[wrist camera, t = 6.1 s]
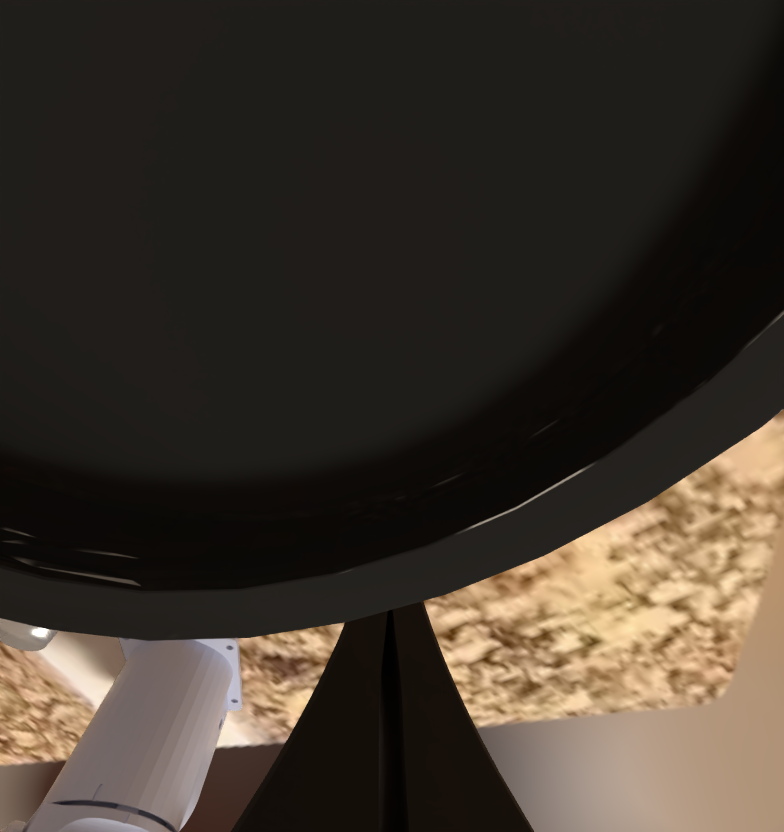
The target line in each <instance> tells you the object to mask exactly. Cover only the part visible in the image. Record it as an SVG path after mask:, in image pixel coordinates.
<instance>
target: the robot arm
mask: <svg viewBox="0 0 784 832" xmlns="http://www.w3.org/2000/svg"><path fill="white" fill-rule="evenodd" d="M118 638H119V637H118ZM119 641H120V644H121V647H122V650H123V653H124V657H125V660H126V663H125V665H124V666H123V668H122V670H121V671H120V673H119V675H118V676H117V678H116V680H115V681H114V683H113V685H112V686H111V688H110V690H109V692H108V693H107V695H106V697H105V698H104V700H103V702H102V703H101V705H100V707H99V708H98V710H97V712H96V713H95V715H94V717H93V718H92V720H91V722H90V723H89V725H88V727H87V728H86V730H85V732H84V734H83V735H82V737H81V739H80V740H79V742H78V744H77V745H76V747H75V749H74V750H73V752H72V754H71V755H70V757H69V759H68V760H67V762H66V764H65V766H64V767H63V769H62V771H61V772H60V774H59V776H58V777H57V779H56V781H55V783H54V784H53V786H52V787H51V789H50V791H49V792H48V794H47V796H46V798H45V799H44V801H43V802H42V804H41V806H40V807H39V809H38V810H37V811H36V812H35V814H34V815H33V816H32V817H31V819H30V820H29V821H28V822H27V824H26V825H25V822H22V821H18V820H15V821H12V822H11V823H10V824H9V825H8V827H7V828H3V829H1V830H0V832H179V831H180V830H181V829H182V827H183V826H184V825H185V823H186V821H187V820H188V818H189V817H190V815H191V814H192V812H193V810H194V808H195V806H196V803H197V801H198V798H199V795H200V792H201V789H202V786H203V783H204V780H205V777H206V774H207V771H208V768H209V765H210V762H211V760H212V757H213V754H214V751H215V748H216V745H217V742H218V739H219V736H220V733H221V730H222V727H223V724H224V721H225V718H226V715H227V712H228V710H232V711H239V710H241V709H242V705H243V695H242V681H241V668H240V654H239V640H238V638H226V639H194V640H163V641H145V640H136V639H127V638H119ZM24 825H25V826H24ZM23 827H24V828H23ZM231 832H534V830H533V829H532V827H531V825H530V824H529V822H528V820H527V819H526V817H525V815H524V813H523V812H522V810H521V808H520V807H519V805H518V803H517V802H516V800H515V798H514V796H513V795H512V793H511V791H510V790H509V788H508V786H507V784H506V783H505V781H504V779H503V778H502V776H501V774H500V773H499V771H498V769H497V767H496V765H495V763H494V762H493V760H492V758H491V756H490V754H489V752H488V750H487V748H486V747H485V745H484V743H483V741H482V739H481V737H480V735H479V733H478V731H477V729H476V727H475V725H474V723H473V721H472V719H471V717H470V715H469V713H468V711H467V709H466V707H465V705H464V703H463V701H462V699H461V696H460V694H459V692H458V690H457V688H456V685H455V683H454V681H453V678H452V676H451V674H450V672H449V669H448V667H447V665H446V662H445V660H444V657H443V655H442V652H441V650H440V647H439V644H438V642H437V639H436V637H435V634H434V631H433V629H432V626H431V623H430V620H429V617H428V614H427V611H426V608H425V605H424V602H423V601H421V602H417V603H413V604H410V605H406V606H403V607H399V608H396V609H392V610H388V611H385V612H381V613H378V614H374V615H370V616H367V617H363V618H360V619H356V620H352V621H349V622H345V624H344V627H343V629H342V632H341V634H340V637H339V639H338V642H337V644H336V646H335V648H334V650H333V652H332V655H331V657H330V659H329V661H328V663H327V665H326V668H325V670H324V672H323V674H322V676H321V678H320V680H319V682H318V684H317V686H316V688H315V690H314V692H313V694H312V696H311V698H310V700H309V702H308V703H307V705H306V707H305V709H304V711H303V713H302V715H301V716H300V718H299V720H298V722H297V724H296V726H295V727H294V729H293V731H292V733H291V734H290V736H289V738H288V740H287V741H286V743H285V745H284V747H283V748H282V750H281V752H280V754H279V755H278V757H277V759H276V761H275V762H274V764H273V765H272V767H271V769H270V770H269V772H268V774H267V776H266V777H265V779H264V780H263V782H262V783H261V785H260V787H259V788H258V790H257V791H256V793H255V794H254V796H253V798H252V799H251V801H250V803H249V804H248V805H247V807H246V809H245V810H244V812H243V814H242V815H241V817H240V818H239V820H238V821H237V823H236V824H235V826H234V828H233V829H232V831H231Z"/></svg>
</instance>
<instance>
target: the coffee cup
mask: <svg viewBox="0 0 784 832" xmlns="http://www.w3.org/2000/svg"><path fill="white" fill-rule="evenodd" d="M783 409H784V0H0V618H1V619H6V620H10V621H14V622H18V623H23V624H27V625H31V626H36V627H40V628H44V629H49V630H58V631H66V632H75V633H84V634H92V635H101V636H110V637H119V638H127V639H136V640H145V641H163V640H194V639H226V638H250V637H257V636H263V635H269V634H275V633H281V632H288V631H294V630H300V629H306V628H312V627H319V626H325V625H331V624H337V623H343V622H349V621H352V620H356V619H360V618H363V617H367V616H370V615H374V614H378V613H381V612H385V611H388V610H392V609H396V608H399V607H403V606H406V605H410V604H413V603H417V602H421V601H424V600H428V599H431V598H435V597H439V596H442V595H446V594H448V593H451V592H453V591H456V590H458V589H461V588H464V587H466V586H469V585H471V584H474V583H476V582H479V581H481V580H484V579H486V578H489V577H491V576H494V575H496V574H499V573H502V572H504V571H507V570H509V569H512V568H514V567H517V566H519V565H522V564H524V563H527V562H529V561H532V560H534V559H537V558H539V557H542V556H544V555H546V554H548V553H550V552H552V551H554V550H556V549H558V548H560V547H562V546H564V545H566V544H568V543H569V542H571V541H573V540H575V539H577V538H579V537H581V536H583V535H585V534H587V533H589V532H591V531H593V530H594V529H596V528H598V527H600V526H602V525H604V524H606V523H608V522H610V521H612V520H614V519H616V518H618V517H620V516H621V515H623V514H625V513H627V512H629V511H631V510H633V509H635V508H637V507H639V506H641V505H643V504H645V503H646V502H648V501H650V500H651V499H653V498H654V497H656V496H657V495H659V494H660V493H662V492H663V491H665V490H666V489H668V488H669V487H671V486H673V485H674V484H676V483H677V482H679V481H680V480H682V479H683V478H685V477H686V476H688V475H689V474H691V473H692V472H694V471H695V470H697V469H698V468H700V467H701V466H703V465H705V464H706V463H708V462H709V461H711V460H712V459H714V458H715V457H717V456H718V455H720V454H721V453H723V452H724V451H726V450H727V449H729V448H730V447H732V446H733V445H735V444H736V443H738V442H740V441H741V440H743V439H744V438H746V437H747V436H749V435H750V434H752V433H753V432H755V431H756V430H758V429H759V428H761V427H762V426H763V425H765V424H766V423H767V422H768V421H770V420H771V419H772V418H773V417H774V416H776V415H777V414H778V413H779V412H781V411H782V410H783Z"/></svg>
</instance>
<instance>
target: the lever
mask: <svg viewBox="0 0 784 832" xmlns="http://www.w3.org/2000/svg"><path fill="white" fill-rule="evenodd" d="M57 632H58V630H49V629H44V628H40V627H36V626H31V625H27V624H23V623H18V622H14V621H10V620H6V619H1V618H0V641H1V642H3V643H4V644H6V645H8V646H11V647H13V648H16V649H19V650H25V651H38V650H41V649H43V648H45V647H46V646H47V644H48V643H49V642H50V641H51V639H52V638H53V637H54V636H55V634H56V633H57Z"/></svg>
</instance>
